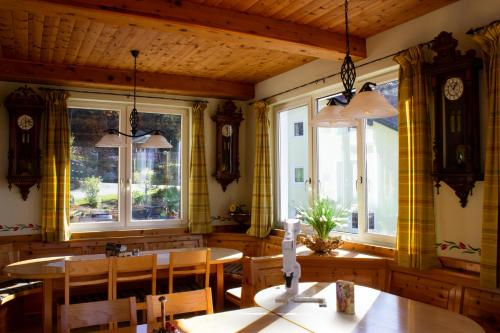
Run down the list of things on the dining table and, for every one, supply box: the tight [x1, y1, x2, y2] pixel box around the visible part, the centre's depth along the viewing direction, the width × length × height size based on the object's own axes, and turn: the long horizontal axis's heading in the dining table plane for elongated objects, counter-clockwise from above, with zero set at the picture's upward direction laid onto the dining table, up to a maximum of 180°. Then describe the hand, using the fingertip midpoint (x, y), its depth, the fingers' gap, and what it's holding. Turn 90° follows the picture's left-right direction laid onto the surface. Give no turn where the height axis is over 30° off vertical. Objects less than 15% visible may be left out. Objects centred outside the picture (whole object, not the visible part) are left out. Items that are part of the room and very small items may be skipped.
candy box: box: [335, 279, 356, 315], centre depth 218 cm, size 9×4×15 cm, turn 39°
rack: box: [294, 296, 327, 308], centre depth 233 cm, size 12×18×3 cm, turn 84°
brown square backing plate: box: [274, 298, 289, 304], centre depth 235 cm, size 8×7×1 cm
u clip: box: [284, 281, 292, 290], centre depth 234 cm, size 5×4×4 cm
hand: (288, 286), depth 234 cm, fingers closed on u clip, 5 cm apart
